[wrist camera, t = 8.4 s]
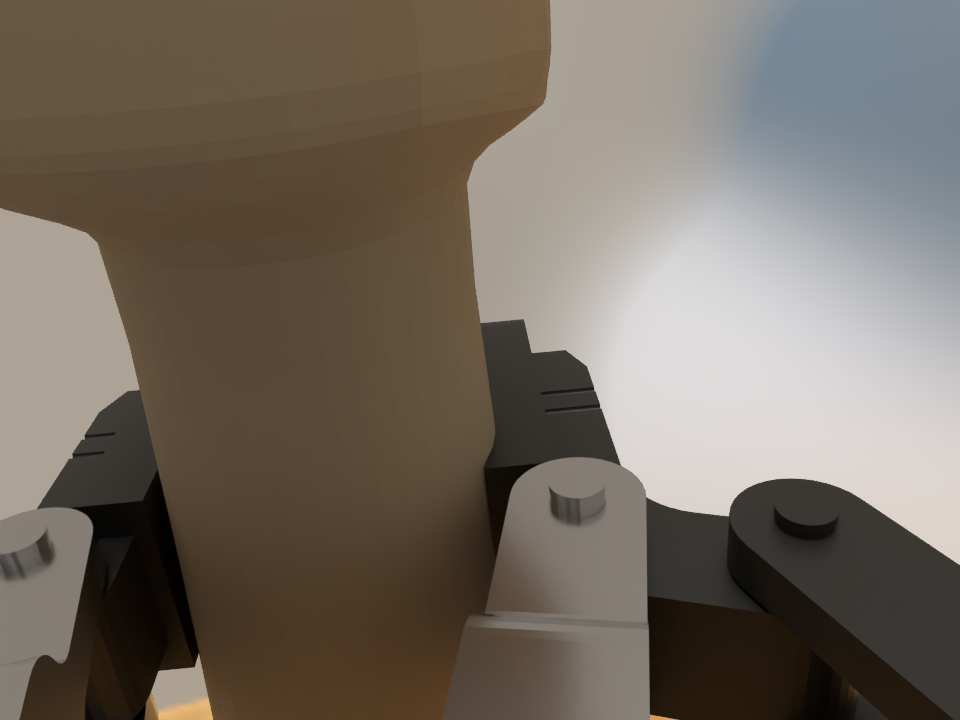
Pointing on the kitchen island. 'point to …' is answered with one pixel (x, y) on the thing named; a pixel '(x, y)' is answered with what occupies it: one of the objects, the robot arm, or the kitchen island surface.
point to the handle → (292, 308)
